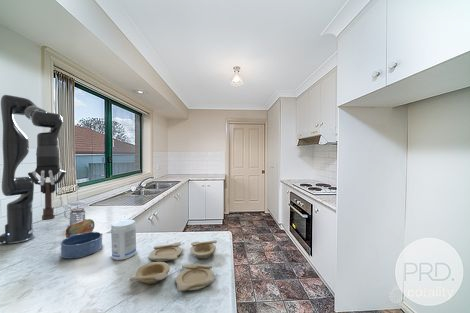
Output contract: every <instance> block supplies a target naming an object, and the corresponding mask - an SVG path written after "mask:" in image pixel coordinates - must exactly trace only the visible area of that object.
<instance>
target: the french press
mask: <svg viewBox="0 0 470 313" xmlns="http://www.w3.org/2000/svg"><path fill="white" fill-rule="evenodd" d="M74 188H76V189H80V186H79V185H76V186H75V187H74ZM76 195H77V196H76V200H75V201H72V202H70V203H69V206H68V207H66V208H65V209H64V211H63V216H64V218H66V219H68V220H69V224H68V226H67V228H68V227H69V226H70V225H71V224H74V223H77V222H80V221H82V220H85V219H86V210H85V208H84V207H80V208H79V207H78V206H80V205H81V206H82V205H84V204H86V202H85V201H83V200H78V198H79V197H78V192H76ZM72 206H77V207H76V208H73V209H72ZM68 209H69V210H70V213H69V217H67V211H68Z"/></svg>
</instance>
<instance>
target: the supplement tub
mask: <svg viewBox="0 0 470 313" xmlns="http://www.w3.org/2000/svg"><path fill="white" fill-rule="evenodd" d="M110 226H111V228H110V237H111V258H112V259H113V260H115V261H120V260H126V259H129V258H131V257H133V256H134V255H136V253H137V227H136V221H135V220H134V219H130V218H129V219H121V220H116V221H114V222H113V223H112V224H110Z"/></svg>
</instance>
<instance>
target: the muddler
mask: <svg viewBox="0 0 470 313" xmlns="http://www.w3.org/2000/svg"><path fill="white" fill-rule="evenodd" d="M52 194H53V193H51V181H46V182H45V194H44V208H42V215H41V221H51V220H54V219H55V218H56V213H55V207H54V206H53V204H52V203H53V202H52V201H53V200H52V199H53V198H52V197H53V196H52Z"/></svg>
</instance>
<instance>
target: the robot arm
mask: <svg viewBox="0 0 470 313" xmlns="http://www.w3.org/2000/svg"><path fill="white" fill-rule="evenodd" d="M0 111H1V112H0V113H1V121H2V174H1V176H2V177H1V193H2V195H4V196H5V197H12V196H13V197H15V196H19V197H18V198H16V199H15V200H13V201H10V202H8V203H7V204H6V224H5V225H4V233H2V234H1V235H0V244H3V243H4V244H5V245H7V244H11V245H12V244H18V243H19V244H20V243H24V242H27V241H29V240H32V239H33V238H34V232H35V229H34V221H33V220H34V219H33V217H34V215H33V212H34V211H33V203H34V192H35V185H39V186H40V193H42V194H44V195H45V182H47V178H48V179H49V182H51V193H52V194H54V193H55V192H56V190H57V186H56V185H57V184H60V183H61V182H62V181H63V179H64V177H65V175H67V173H68V171H66V170H62V169H61V168H60V155H59V153H60V151H59V134H60V131H61V129H62V126H63V122H64V121H63V117H62V116H61V115H60V114H59V113H55V112H49V111H46V110H45V109H43V108H40V107H39V106H38V105H36V104H35V103H34V102H33V101H32V100H31V99H28V98H26V97H22V96H16V95H11V94H3V95H2V96H1V97H0ZM14 115H19V116H25V118H26V119H28V120H30V121H31V124H32V125H33V126H35V127H39V128H47V129H49V131H46V132H39V133H37V134H36V150H35V151H36V153H35V156H36V167H35V169H34V170H32V171H30V172H28V173H27V175H28V176H17V177H15V175H16V171H17V169H18V167H19V166H20V165H21V163H22V162H23V161H24V160H25V159H26V157H27V156H28V155H29V153H30V142H29V141H30V140H29V139H28V136H27V135H26V134H25V133H24V132H23V130H21V128H20V127H19V126H18V124H17V123H16V121H15V119H14ZM58 174H59V176H58V178H57V180H56V176H57V175H58ZM37 175H38V176H39V177H40V178H38V177H37Z"/></svg>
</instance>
